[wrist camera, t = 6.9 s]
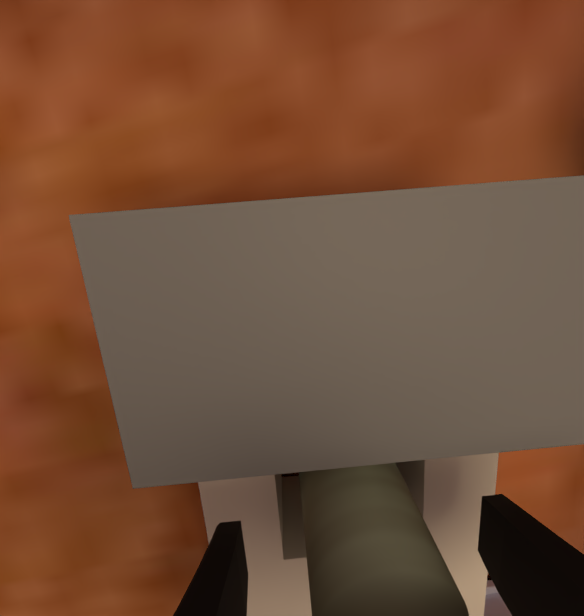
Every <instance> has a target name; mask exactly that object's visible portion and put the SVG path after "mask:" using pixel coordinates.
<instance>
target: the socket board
mask: <svg viewBox="0 0 584 616" xmlns="http://www.w3.org/2000/svg"><path fill="white" fill-rule="evenodd" d="M69 219H70V223H71V227H72V231H73V236H74V240H75V244H76V248H77V253H78V257H79V261H80V265H81V270H82V274H83V278H84V283H85V287H86V291H87V295H88V300H89V304H90V308H91V312H92V317H93V321H94V325H95V329H96V334H97V338H98V342H99V346H100V351H101V355H102V359H103V363H104V368H105V372H106V376H107V380H108V385H109V389H110V393H111V397H112V402H113V406H114V410H115V414H116V419H117V423H118V427H119V431H120V436H121V440H122V444H123V449H124V453H125V457H126V461H127V466H128V470H129V474H130V478H131V483H132V487H133V489H134V488H145V487H155V486H165V485H175V484H185V483H195V482H198V485H199V491H200V496H201V502H202V508H203V513H204V519H205V525H206V531H207V536H208V542H209V543H210V541H211V539H212V536H213V534H214V532H215V529H216V527H217V525H218V524H219V523H221V522H231V521H241V526H242V533H243V540H244V547H245V554H246V561H247V568H248V597H247V616H312V611H311V600H310V589H309V578H308V567H307V557H306V546H305V535H304V524H303V513H302V503H301V492H300V481H299V475H298V476H288V477H282V476H281V474H286V473H296V472H306V471H316V470H326V469H337V468H347V467H357V466H367V465H377V464H387V463H396V465H397V467H398V469H399V471H400V473H401V475H402V477H403V479H404V481H405V483H406V485H407V487H408V489H409V491H410V493H411V495H412V497H413V499H414V501H415V503H416V505H417V507H418V509H419V511H420V513H421V515H422V517H423V519H424V521H425V523H426V525H427V527H428V529H429V531H430V533H431V535H432V537H433V539H434V541H435V543H436V545H437V547H438V549H439V551H440V553H441V555H442V557H443V559H444V561H445V563H446V565H447V567H448V569H449V571H450V573H451V575H452V577H453V579H454V581H455V583H456V585H457V587H458V589H459V591H460V593H461V595H462V597H463V599H464V601H465V603H466V606H467V609H468V613H469V616H484V607H485V596H486V586H487V575H488V571H487V569H486V567H485V565H484V563H483V561H482V558H481V556H480V554H479V552H478V540H479V527H480V514H481V501H482V496H489V495H495V487H496V476H497V465H498V454H499V452H508V451H519V450H529V449H539V448H549V447H559V446H569V445H579V444H584V176H571V177H558V178H545V179H532V180H519V181H506V182H493V183H480V184H467V185H454V186H441V187H428V188H415V189H402V190H389V191H376V192H363V193H350V194H337V195H324V196H311V197H298V198H285V199H272V200H259V201H246V202H233V203H220V204H207V205H194V206H181V207H168V208H155V209H142V210H129V211H116V212H103V213H91V214H78V215H69Z"/></svg>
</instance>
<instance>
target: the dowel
mask: <svg viewBox="0 0 584 616" xmlns="http://www.w3.org/2000/svg"><path fill="white" fill-rule="evenodd" d="M299 481H300V492H301V503H302V513H303V524H304V535H305V546H306V557H307V567H308V578H309V589H310V600H311V611H312V616H469V613H468V609H467V606H466V603H465V601H464V599H463V597H462V595H461V593H460V591H459V589H458V587H457V585H456V583H455V581H454V579H453V577H452V575H451V573H450V571H449V569H448V567H447V565H446V563H445V561H444V559H443V557H442V555H441V553H440V551H439V549H438V547H437V545H436V543H435V541H434V539H433V537H432V535H431V533H430V531H429V529H428V527H427V525H426V523H425V521H424V519H423V517H422V515H421V513H420V511H419V509H418V507H417V505H416V503H415V501H414V499H413V497H412V495H411V493H410V491H409V489H408V487H407V485H406V483H405V481H404V479H403V477H402V475H401V473H400V471H399V469H398V467H397V465H396V463H387V464H377V465H367V466H357V467H347V468H337V469H326V470H316V471H306V472H299Z"/></svg>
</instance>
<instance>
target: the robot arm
mask: <svg viewBox="0 0 584 616" xmlns="http://www.w3.org/2000/svg"><path fill="white" fill-rule="evenodd" d="M478 552H479V554H480V556H481V558H482V561H483V563H484V565H485V567H486V569H487V571H488V573H489V575H490V577H491V579H492V580H487V586H486V596H485V607H484V616H584V554H582V553H581V552H579V551H578V550H577V549H575V548H574V547H573V546H571V545H570V544H568V543H567V542H566V541H564V540H563V539H562V538H560V537H559V536H558V535H556V534H555V533H554V532H552V531H551V530H550V529H548V528H547V527H546V526H544V525H543V524H542V523H540V522H539V521H538V520H536V519H535V518H534V517H532V516H531V515H530V514H528V513H527V512H526V511H524V510H523V509H522V508H520V507H519V506H518V505H516V504H515V503H513V502H512V501H511V500H509V499H508V498H507V497H505V496H504V495H502V494H499V495H489V496H482V501H481V514H480V527H479V540H478ZM247 597H248V568H247V561H246V554H245V547H244V540H243V533H242V526H241V521H231V522H221V523H219V524H218V525H217V527H216V529H215V532H214V534H213V536H212V539H211V541H210V543H209V546H208V548H207V550H206V552H205V554H204V556H203V559H202V561H201V563H200V565H199V567H198V569H197V571H196V573H195V575H194V577H193V579H192V581H191V583H190V585H189V587H188V589H187V591H186V593H185V594H184V596H183V598H182V600H181V602H180V604H179V606H178V608H177V610H176V611H175V613H174V615H173V616H247Z"/></svg>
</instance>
